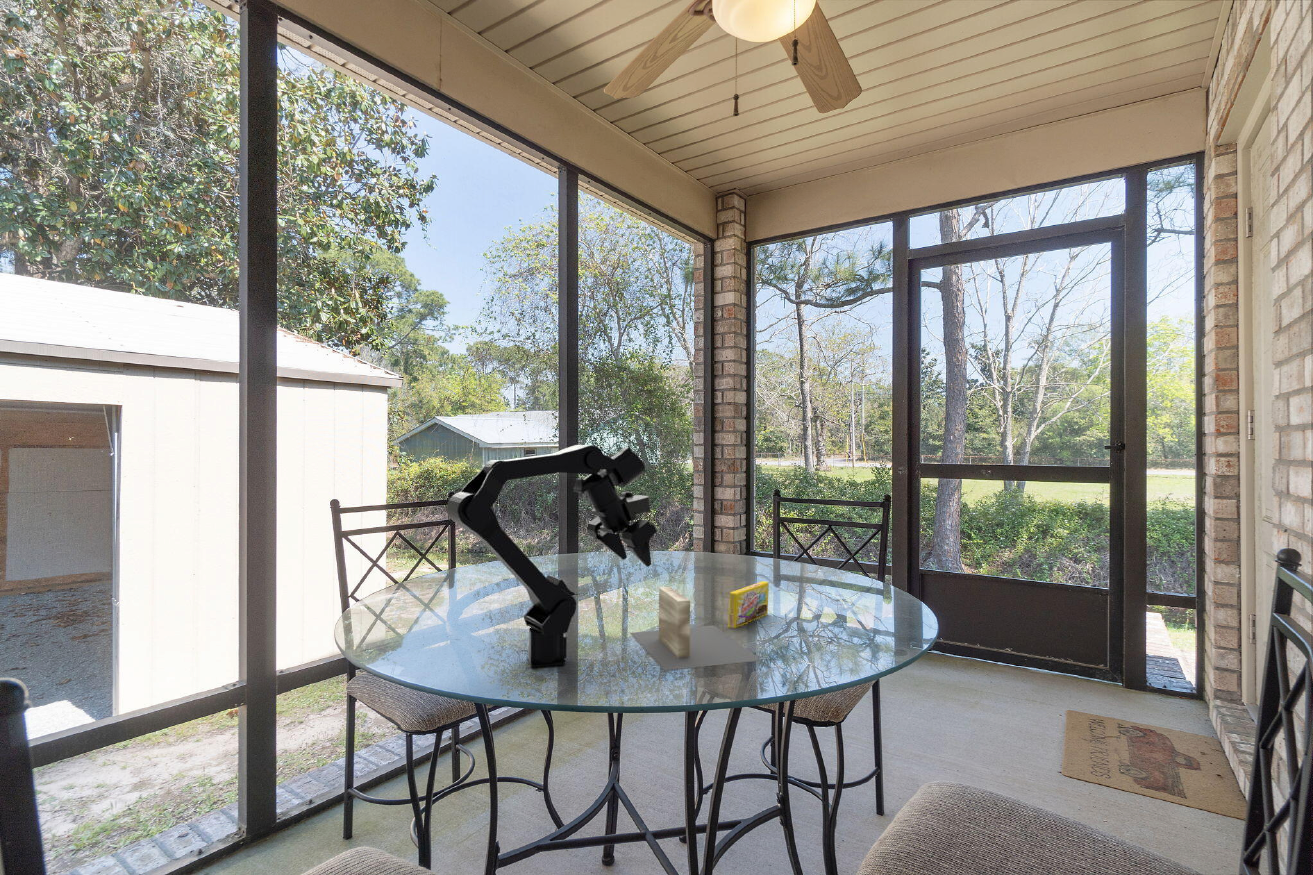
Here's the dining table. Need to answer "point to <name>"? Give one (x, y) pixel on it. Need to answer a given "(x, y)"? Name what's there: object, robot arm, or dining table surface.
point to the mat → (696, 649)
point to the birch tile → (674, 621)
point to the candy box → (748, 604)
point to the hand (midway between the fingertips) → (636, 561)
